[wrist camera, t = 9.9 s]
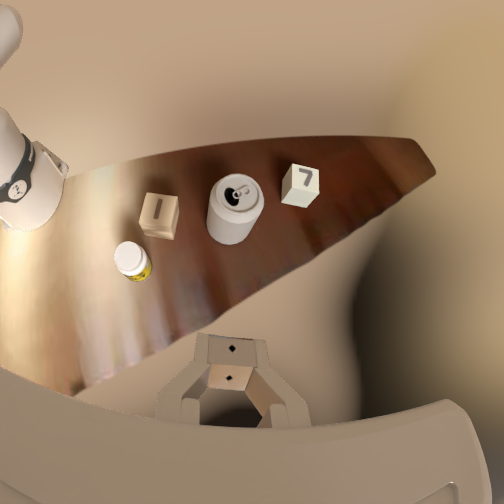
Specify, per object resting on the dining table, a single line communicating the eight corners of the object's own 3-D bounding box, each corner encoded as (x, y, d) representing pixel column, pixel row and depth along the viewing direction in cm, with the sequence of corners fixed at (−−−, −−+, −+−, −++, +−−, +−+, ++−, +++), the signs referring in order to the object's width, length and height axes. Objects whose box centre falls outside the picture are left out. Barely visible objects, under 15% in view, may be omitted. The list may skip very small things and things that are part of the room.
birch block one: (145, 235, 43) (138, 221, 37) (151, 208, 45) (146, 191, 39) (173, 239, 44) (170, 226, 38) (179, 212, 45) (177, 196, 40)
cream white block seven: (281, 202, 50) (292, 186, 44) (282, 180, 51) (292, 162, 46) (306, 207, 51) (319, 193, 45) (306, 185, 52) (318, 169, 46)
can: (200, 211, 46) (203, 175, 35) (240, 200, 48) (255, 164, 37) (214, 251, 45) (221, 225, 34) (255, 238, 47) (275, 210, 36)
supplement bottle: (125, 283, 40) (110, 273, 32) (125, 255, 41) (111, 239, 34) (153, 282, 41) (144, 271, 33) (152, 253, 43) (143, 237, 35)
